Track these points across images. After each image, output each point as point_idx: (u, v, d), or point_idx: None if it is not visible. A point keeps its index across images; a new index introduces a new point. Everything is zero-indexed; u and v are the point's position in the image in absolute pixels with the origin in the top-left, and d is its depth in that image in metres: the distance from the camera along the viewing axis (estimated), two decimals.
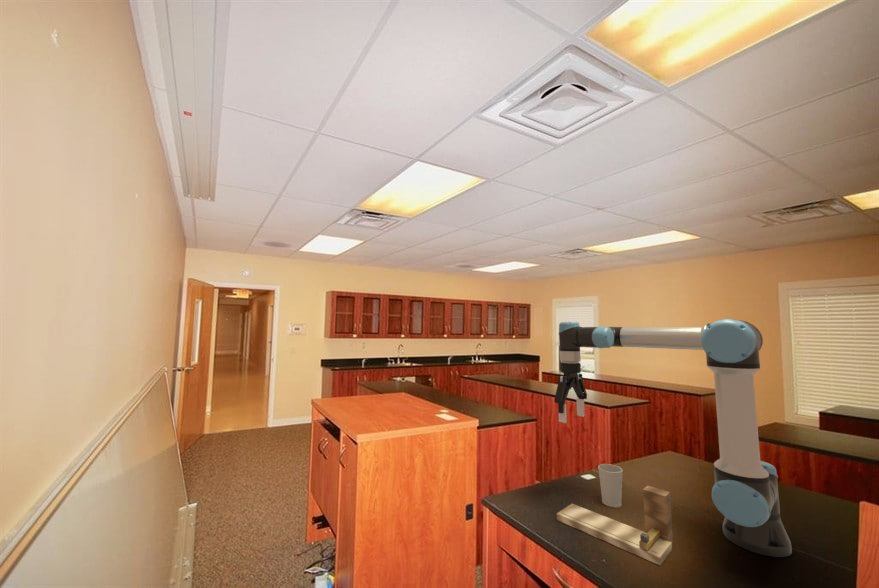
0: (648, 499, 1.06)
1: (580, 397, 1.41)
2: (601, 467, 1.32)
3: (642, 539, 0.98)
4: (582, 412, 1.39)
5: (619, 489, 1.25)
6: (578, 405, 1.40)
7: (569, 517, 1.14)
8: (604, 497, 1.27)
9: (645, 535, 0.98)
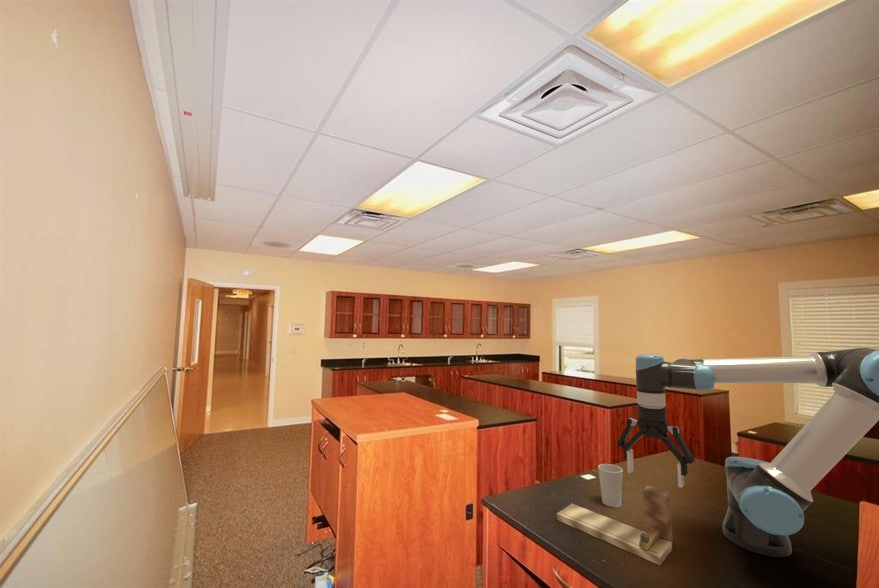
0: (648, 499, 1.06)
1: None
2: (601, 467, 1.32)
3: (642, 539, 0.98)
4: None
5: (619, 489, 1.25)
6: None
7: (569, 517, 1.14)
8: (604, 497, 1.27)
9: (645, 535, 0.98)
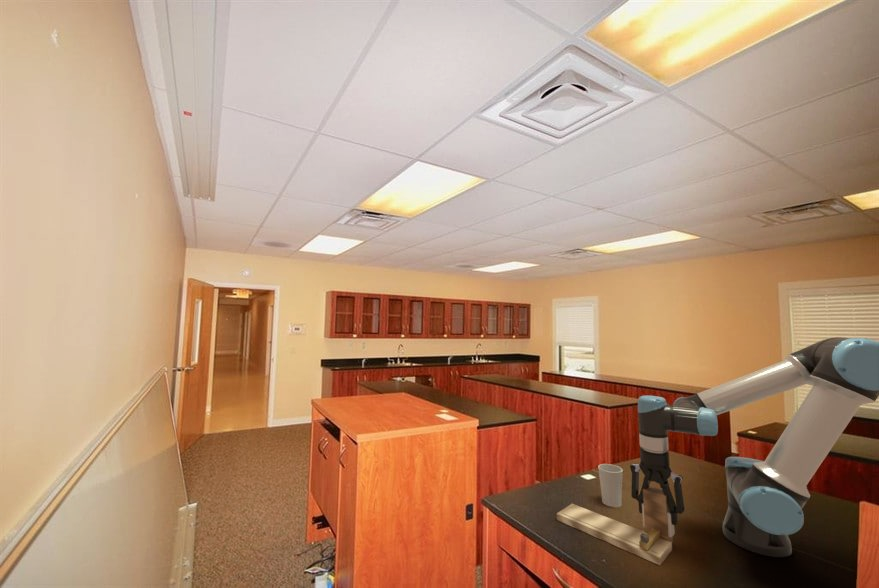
0: (648, 499, 1.06)
1: None
2: (601, 467, 1.32)
3: (642, 539, 0.98)
4: None
5: (619, 489, 1.25)
6: None
7: (569, 517, 1.14)
8: (604, 497, 1.27)
9: (645, 535, 0.98)
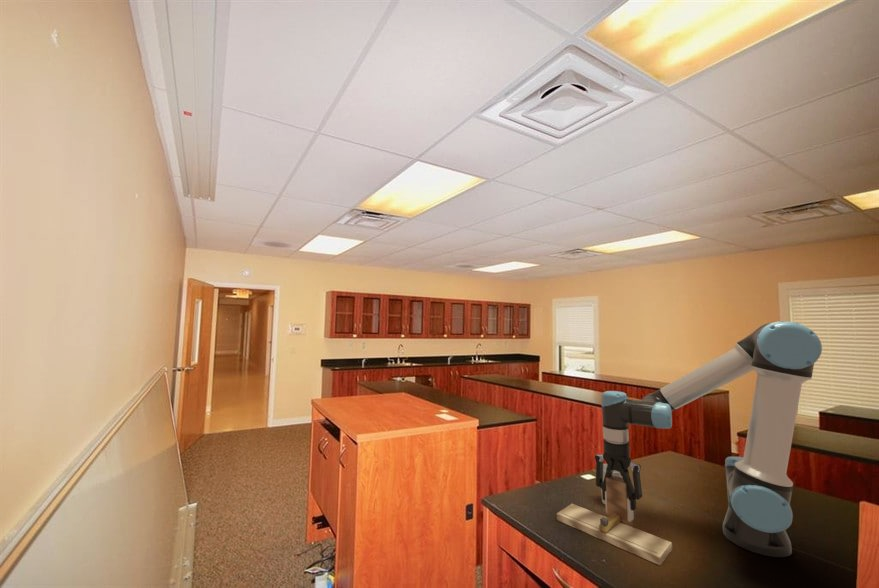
0: (610, 486, 1.15)
1: None
2: None
3: (602, 523, 1.07)
4: None
5: None
6: None
7: (569, 517, 1.14)
8: None
9: (604, 519, 1.07)
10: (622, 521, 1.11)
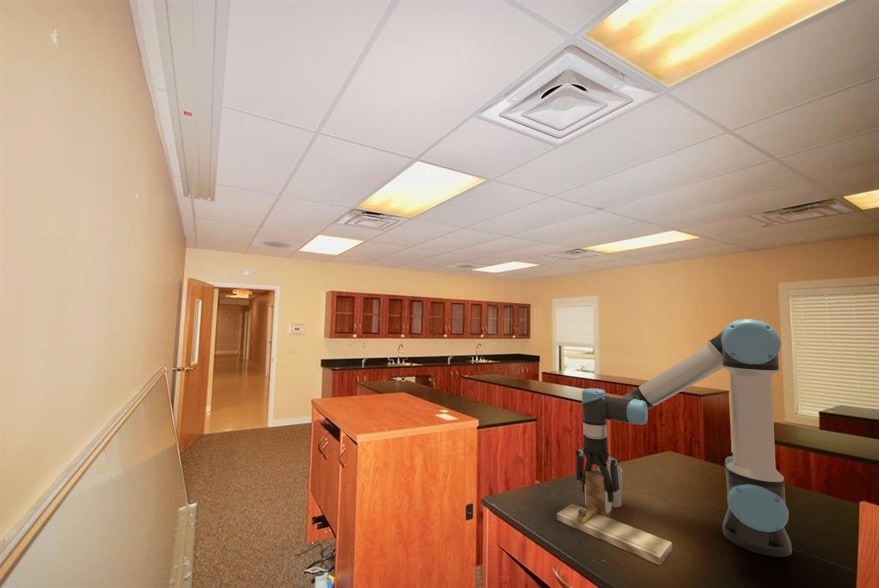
0: (589, 479, 1.20)
1: None
2: None
3: (580, 514, 1.12)
4: None
5: (619, 489, 1.25)
6: None
7: (569, 517, 1.14)
8: None
9: (582, 510, 1.12)
10: (600, 512, 1.16)
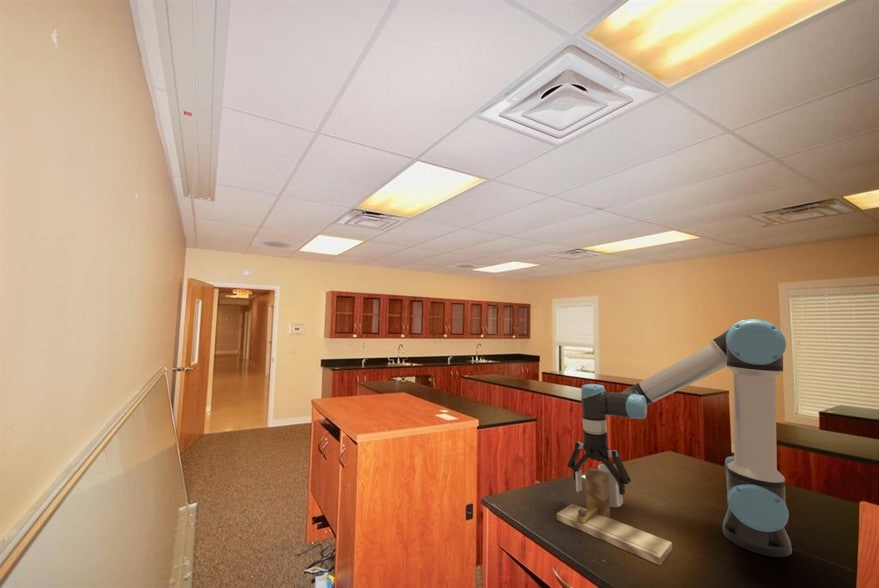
0: (589, 479, 1.20)
1: None
2: (601, 467, 1.32)
3: (580, 514, 1.12)
4: None
5: None
6: None
7: (569, 517, 1.14)
8: None
9: (582, 510, 1.12)
10: (600, 512, 1.16)
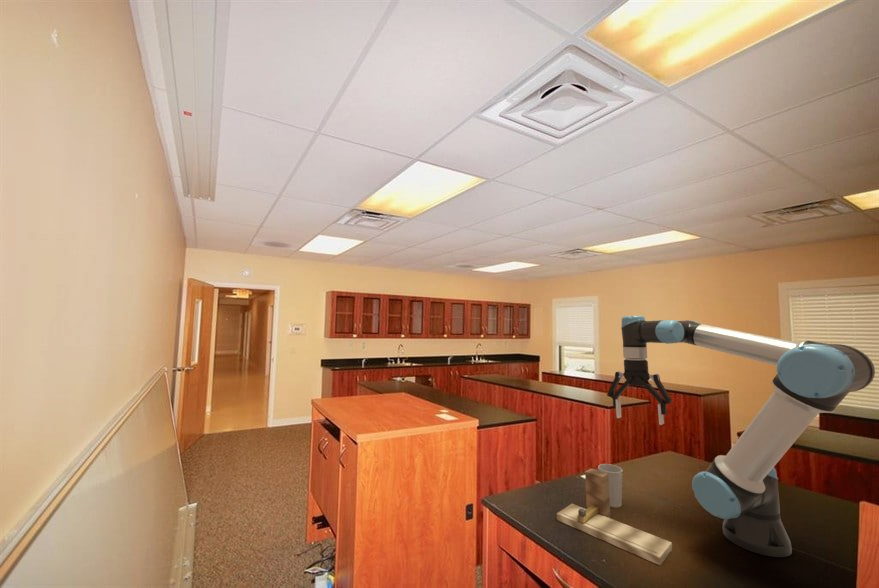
0: (589, 479, 1.20)
1: None
2: (601, 467, 1.32)
3: (580, 514, 1.12)
4: None
5: (619, 489, 1.25)
6: None
7: (569, 517, 1.14)
8: None
9: (582, 510, 1.12)
10: (600, 512, 1.16)
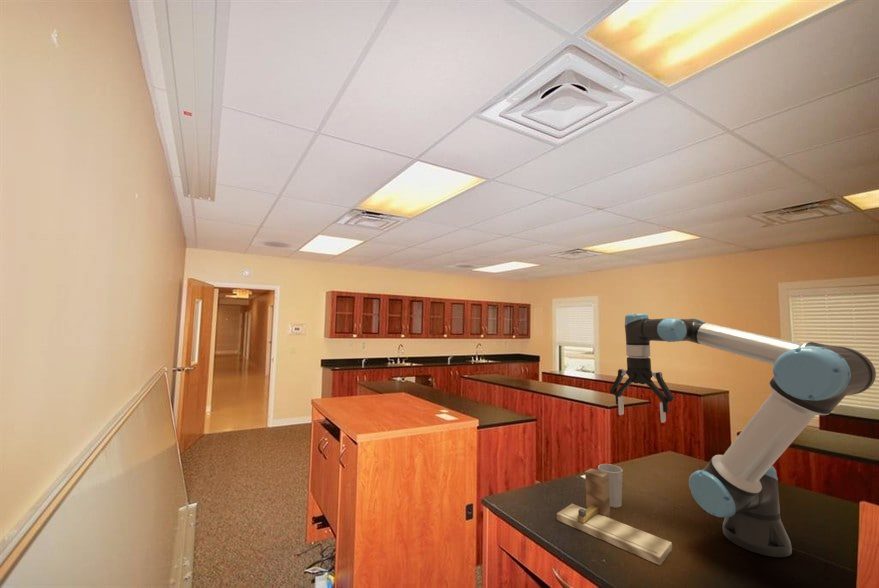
0: (589, 479, 1.20)
1: None
2: (601, 467, 1.32)
3: (580, 514, 1.12)
4: None
5: (619, 489, 1.25)
6: None
7: (569, 517, 1.14)
8: None
9: (582, 510, 1.12)
10: (600, 512, 1.16)
